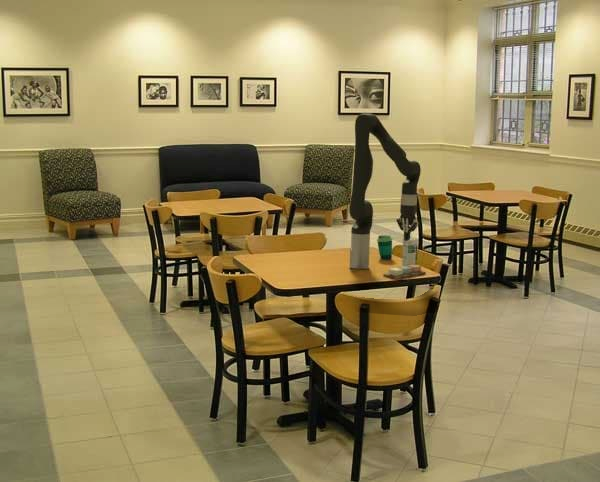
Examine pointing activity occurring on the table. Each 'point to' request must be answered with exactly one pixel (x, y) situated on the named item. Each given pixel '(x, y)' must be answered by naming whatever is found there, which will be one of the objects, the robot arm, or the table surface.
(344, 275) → the table surface
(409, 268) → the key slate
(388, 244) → the cup
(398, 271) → the key cream
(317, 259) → the table surface
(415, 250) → the syrup box
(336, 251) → the table surface
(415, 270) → the key terracotta
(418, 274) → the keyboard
